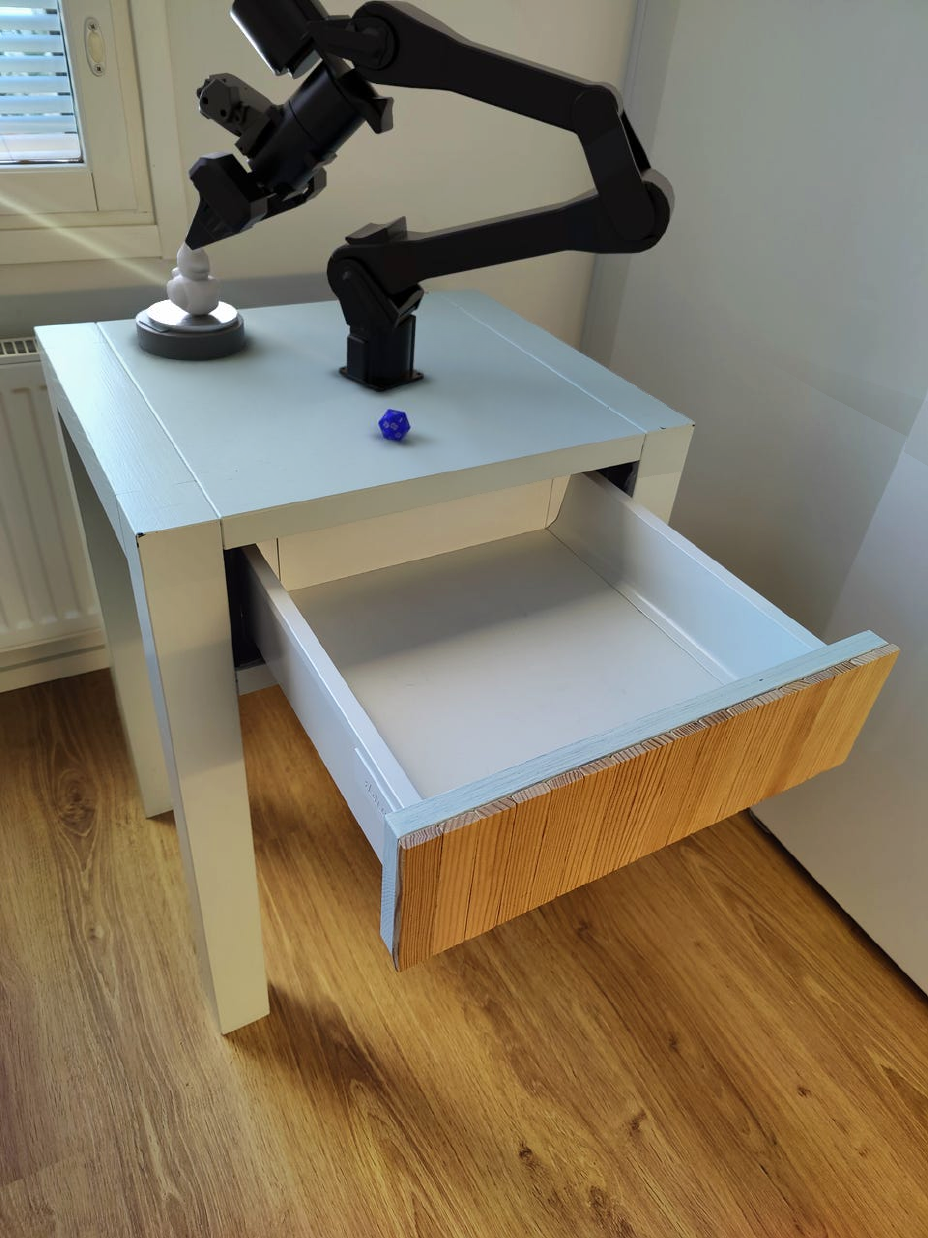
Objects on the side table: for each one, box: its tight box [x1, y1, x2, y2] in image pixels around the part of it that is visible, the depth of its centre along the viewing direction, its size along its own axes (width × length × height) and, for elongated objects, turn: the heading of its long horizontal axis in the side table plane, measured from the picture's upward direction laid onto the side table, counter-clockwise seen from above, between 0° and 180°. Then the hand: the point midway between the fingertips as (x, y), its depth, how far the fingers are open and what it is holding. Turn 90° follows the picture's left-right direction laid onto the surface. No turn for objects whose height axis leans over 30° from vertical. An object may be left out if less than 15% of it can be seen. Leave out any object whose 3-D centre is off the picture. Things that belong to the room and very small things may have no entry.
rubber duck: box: [166, 241, 222, 315], centre depth 89 cm, size 5×7×8 cm
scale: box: [135, 299, 246, 361], centre depth 92 cm, size 11×11×3 cm
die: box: [377, 408, 411, 442], centre depth 78 cm, size 3×3×3 cm
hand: (212, 235), depth 86 cm, fingers open, 9 cm apart
